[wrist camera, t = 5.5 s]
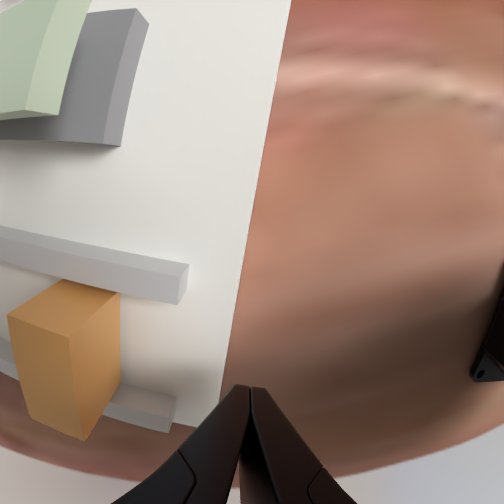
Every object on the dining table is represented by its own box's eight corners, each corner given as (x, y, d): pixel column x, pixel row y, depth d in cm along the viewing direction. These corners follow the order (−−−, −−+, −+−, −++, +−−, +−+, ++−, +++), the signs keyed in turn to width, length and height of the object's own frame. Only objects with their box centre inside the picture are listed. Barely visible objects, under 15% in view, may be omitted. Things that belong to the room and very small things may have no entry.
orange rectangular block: (120, 289, 9) (68, 337, 6) (121, 381, 10) (85, 441, 7) (67, 276, 9) (6, 314, 6) (73, 366, 10) (30, 418, 7)
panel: (310, -95, 7) (321, -148, 3) (218, 399, 13) (207, 468, 9) (40, -69, 7) (7, -97, 3) (-33, 315, 12) (-77, 344, 8)
